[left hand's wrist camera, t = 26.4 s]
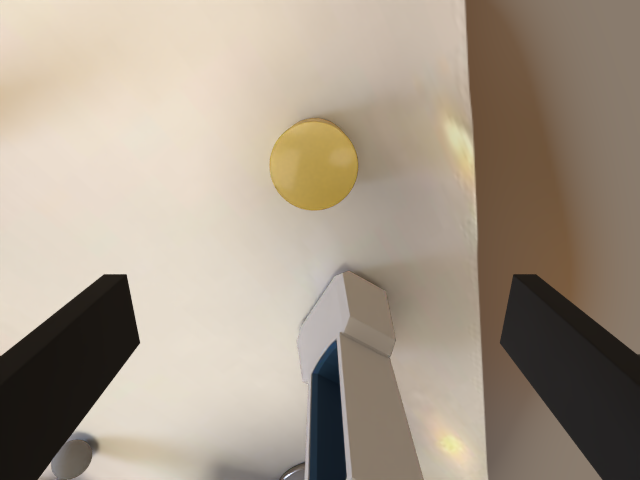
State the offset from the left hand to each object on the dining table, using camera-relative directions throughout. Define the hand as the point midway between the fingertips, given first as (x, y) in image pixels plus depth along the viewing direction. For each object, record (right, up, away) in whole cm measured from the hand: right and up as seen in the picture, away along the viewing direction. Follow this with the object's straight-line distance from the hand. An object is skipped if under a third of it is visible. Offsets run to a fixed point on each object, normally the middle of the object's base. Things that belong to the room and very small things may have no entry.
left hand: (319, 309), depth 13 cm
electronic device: (+3, -8, +41) cm, 42 cm away
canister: (-1, +13, +34) cm, 36 cm away
